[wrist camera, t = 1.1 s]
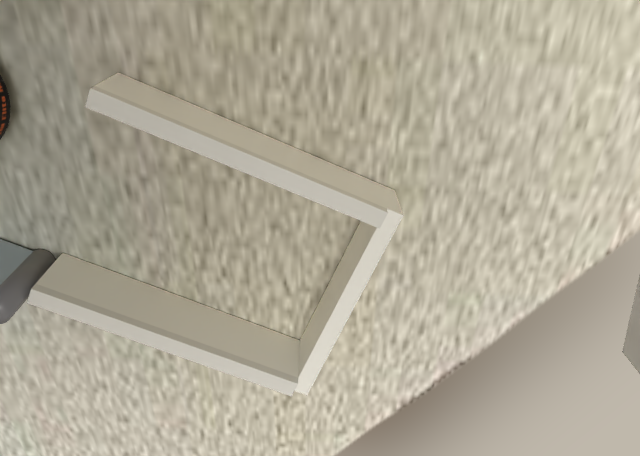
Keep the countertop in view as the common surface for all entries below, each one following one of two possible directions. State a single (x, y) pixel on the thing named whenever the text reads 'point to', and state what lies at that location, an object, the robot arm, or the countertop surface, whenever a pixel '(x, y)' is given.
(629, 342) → the robot arm
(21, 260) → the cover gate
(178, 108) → the grey low-walled frame
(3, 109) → the beverage can
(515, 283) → the countertop surface
